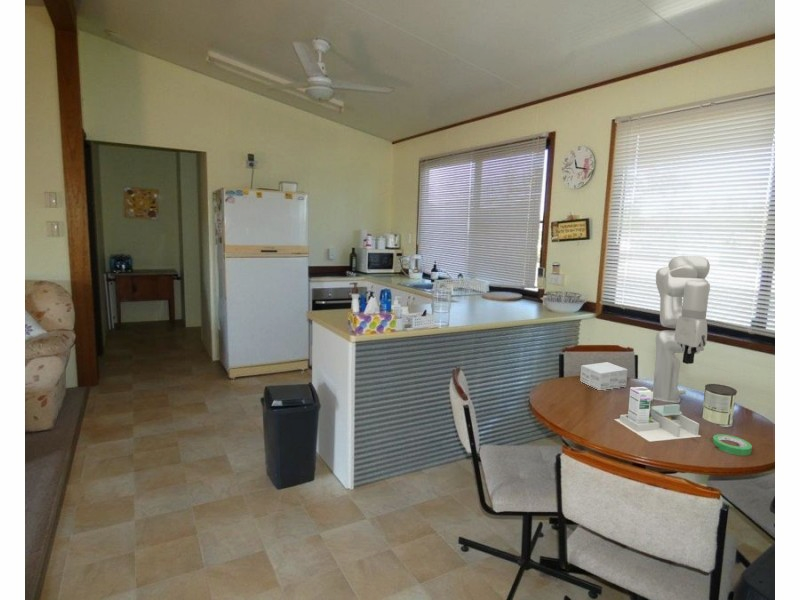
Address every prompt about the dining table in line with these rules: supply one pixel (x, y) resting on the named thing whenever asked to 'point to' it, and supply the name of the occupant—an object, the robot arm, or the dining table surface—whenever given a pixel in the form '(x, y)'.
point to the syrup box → (640, 405)
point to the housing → (662, 427)
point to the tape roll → (742, 450)
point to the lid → (667, 409)
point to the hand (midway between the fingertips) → (687, 362)
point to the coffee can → (719, 404)
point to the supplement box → (603, 376)
